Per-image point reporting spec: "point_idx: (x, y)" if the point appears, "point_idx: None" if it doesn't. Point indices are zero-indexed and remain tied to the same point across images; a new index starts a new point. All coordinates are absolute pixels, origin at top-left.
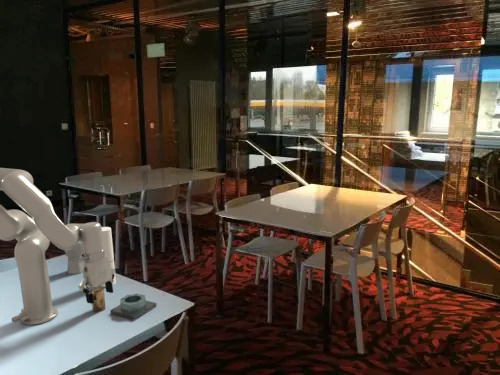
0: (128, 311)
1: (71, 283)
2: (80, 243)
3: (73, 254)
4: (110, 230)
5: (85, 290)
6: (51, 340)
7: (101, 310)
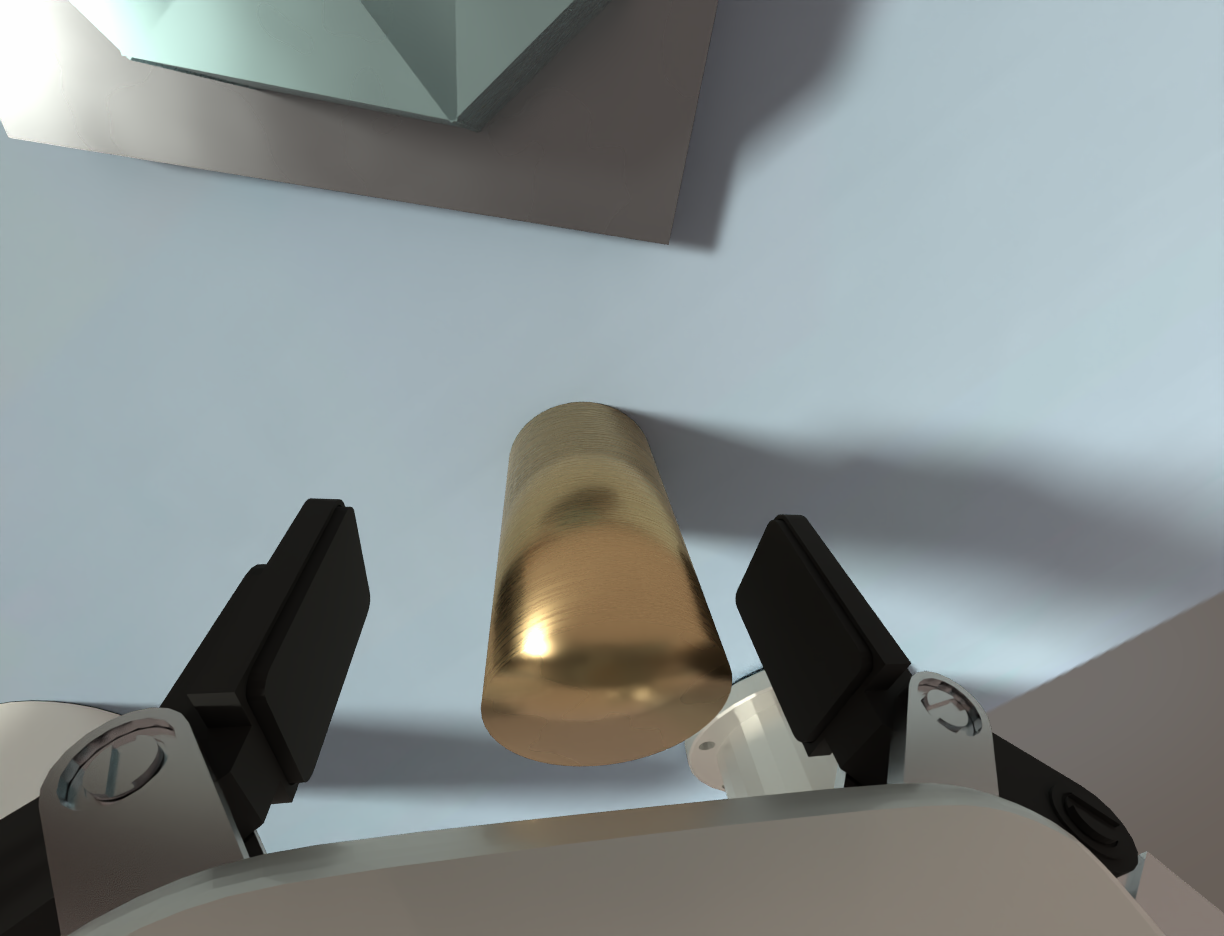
0: None
1: None
2: None
3: None
4: None
5: (1087, 814)
6: (1186, 446)
7: (619, 414)
